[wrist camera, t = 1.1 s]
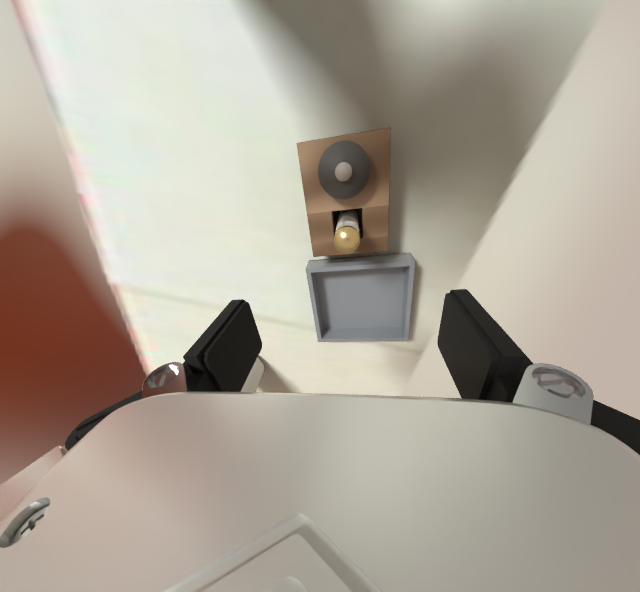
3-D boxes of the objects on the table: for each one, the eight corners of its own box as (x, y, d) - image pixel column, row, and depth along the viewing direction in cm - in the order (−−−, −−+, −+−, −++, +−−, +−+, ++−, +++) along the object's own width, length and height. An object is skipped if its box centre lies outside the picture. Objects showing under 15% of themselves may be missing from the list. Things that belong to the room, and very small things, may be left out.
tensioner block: (303, 144, 26) (291, 141, 21) (385, 131, 25) (394, 124, 19) (317, 246, 32) (310, 263, 27) (383, 240, 31) (390, 258, 25)
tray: (309, 260, 33) (305, 268, 31) (410, 252, 31) (415, 261, 28) (320, 330, 40) (318, 341, 37) (404, 328, 38) (408, 340, 35)
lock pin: (338, 208, 29) (332, 229, 21) (357, 206, 29) (359, 226, 20) (339, 227, 30) (335, 254, 22) (357, 225, 30) (360, 252, 22)
